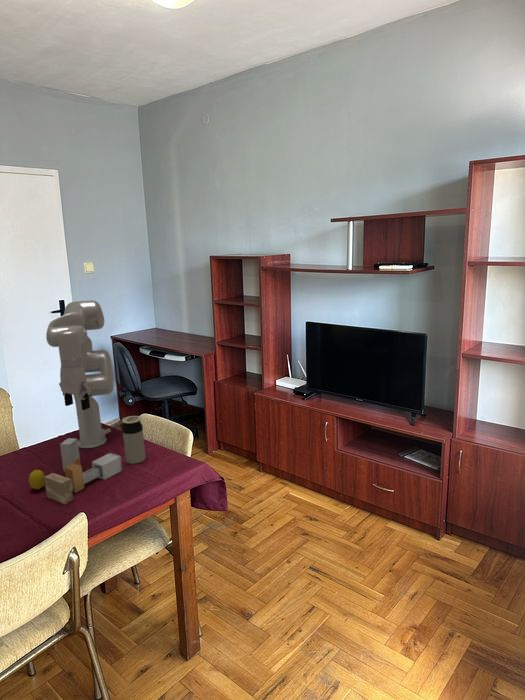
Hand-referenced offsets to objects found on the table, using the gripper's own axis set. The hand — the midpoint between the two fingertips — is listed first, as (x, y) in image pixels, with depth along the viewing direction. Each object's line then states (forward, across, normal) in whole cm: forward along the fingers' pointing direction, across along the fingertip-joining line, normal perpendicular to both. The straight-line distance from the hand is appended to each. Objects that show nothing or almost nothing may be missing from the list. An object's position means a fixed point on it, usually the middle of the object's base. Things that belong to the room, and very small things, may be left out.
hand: (77, 406), depth 187 cm
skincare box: (+28, -10, +1) cm, 30 cm away
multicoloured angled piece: (+28, +6, -7) cm, 29 cm away
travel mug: (+28, +7, +19) cm, 35 cm away
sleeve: (+28, +6, +6) cm, 29 cm away
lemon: (+28, -7, -16) cm, 33 cm away
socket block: (+28, +6, -16) cm, 33 cm away
